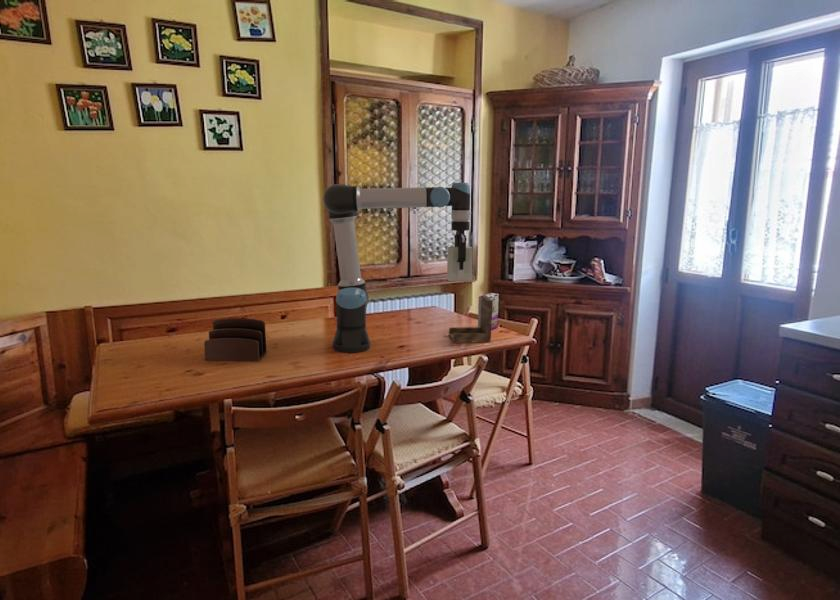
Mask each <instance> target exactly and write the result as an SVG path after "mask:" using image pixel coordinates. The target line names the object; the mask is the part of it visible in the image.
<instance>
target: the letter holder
mask: <svg viewBox="0 0 840 600" xmlns="http://www.w3.org/2000/svg"><path fill="white" fill-rule="evenodd" d="M266 334H267V333H266V323H265V321H264V320H261V319H255V318H247V317H246V318H241V317H240V318H239V317H235V318H234V317H233V318H231V317H230V318H229V317H228V318H227V317H226V318H218V319H214V320H212V329H211V330H209V331H208V339H205V340H204V343H203V345H204V361H211V362H212V361H213V362H214V361H215V362H217V361H218V362H220V361H223V362H224V361H225V362H260V361H261V360H262V359H263V358H264V357H265V356H266V355H267V353H268V352H267V337H266Z"/></svg>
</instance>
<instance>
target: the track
mask: <svg viewBox="0 0 840 600" xmlns="http://www.w3.org/2000/svg"><path fill="white" fill-rule="evenodd" d="M481 296H482V295H481ZM492 305H493V301H492V300H491V299H490V298H489V297H487V296H482V299H481V320H480V327H478V326H475V327H473V326H471V327H469V326H467V327H466V326H464V327H463V326H462V327H459V326H458V327H457V326H456V327H455V326H454V327H449V329H448V330H449V331H448V332H449V333H448V336H449V337H450V339H451V340H452V342H453V343H473V342H472V341H491V340H492V330H491V324H492ZM491 342H492V341H491Z"/></svg>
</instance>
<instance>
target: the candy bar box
mask: <svg viewBox="0 0 840 600" xmlns="http://www.w3.org/2000/svg"><path fill="white" fill-rule="evenodd" d="M482 296H487V297H489V298H490V299H491V300H492V301H493V305H492V324H491V331H493V330H495V329H498V328H499V327H498V325H499V302H500V300H499V299H500V298H499V297H500V294H499V293H495V292H494V293H493V292H489V293H486V294H483V295H479V296H478V305H477V306H478V307H477V309H478V310H477V311H478V312H477V327H480V320H481V299H482Z"/></svg>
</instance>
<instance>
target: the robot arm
mask: <svg viewBox="0 0 840 600" xmlns="http://www.w3.org/2000/svg"><path fill="white" fill-rule="evenodd" d="M322 200H323V204H324V207H325V208H326V209H327V214H328V221H330V222H331V223H332V224H333V231H334V232H333V233H334V239H335V246H336V253H337V255H336V256H337V260H338V262H337V263H338V269H339V276H340V281H339V283H337V287H338V288H337V289H338V291H337V292H336V297H335V302H336V331H335V333H334V336H333V339H332V349H333V350H334V351H337V352H339V353H348V354H349V353H351V354H352V353H360V352H365V351H367V350H369V349H371V340H370V337H369V334H368V331H367V330H368V329H367V323H366V322H367V307H368V305H369V294H368V292H367V285H366V280H364V279H363V278H362V273H361V265H360V255H359V249H358V241H357V240H358V239H357V233H356V225H355V220H356V219H357V218H358V212H361V210H364V209H365V210H366V209H403V208H404V209H405V208H406V209H407V208H408V209H409V208H412V209H413V208H444V207H451V212H450V213H451V220H452V221H451V224H450V225H451V226H450V227H451V231H455V234H454V237H453V238H454V247H458V261H457V262H458V271H457V277H458V278H460V277H464V262H465V261H466V247H467V236H466V233H465V232H467V231H469V230H470V225H471V224H470V221H469V220H470V219H471V218H470V215H472V212H471V211H470V210H471V185H470V183H469V182H452V184H451V187H443V186H435V187H434V186H432V187H430V186H429V187H387V188H386V187H385V188H383V187H382V188H380V187H379V188H376V187H375V188H374V187H373V188H371V187H370V188H360V186H358V185H347V184H344V183H335V184H332V185H330V186H328V187H327V188H326V190H325V191H324V193H323V198H322Z"/></svg>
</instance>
